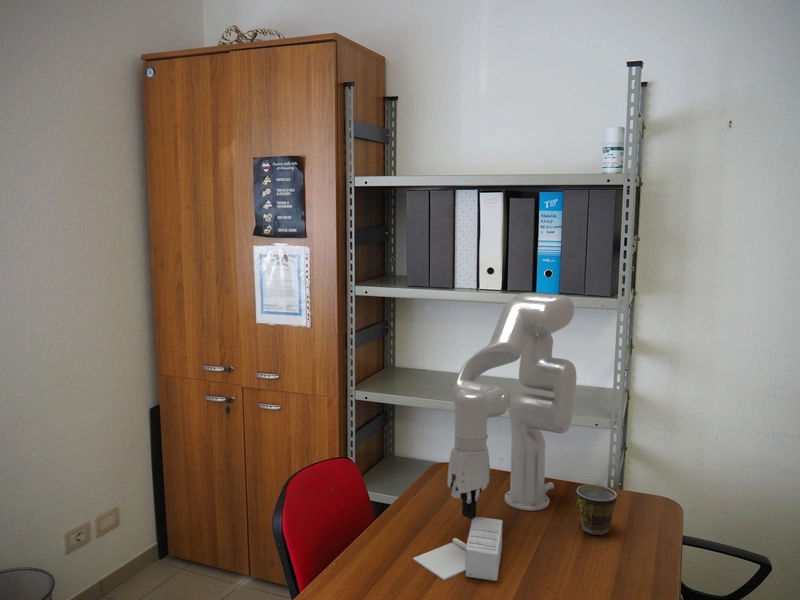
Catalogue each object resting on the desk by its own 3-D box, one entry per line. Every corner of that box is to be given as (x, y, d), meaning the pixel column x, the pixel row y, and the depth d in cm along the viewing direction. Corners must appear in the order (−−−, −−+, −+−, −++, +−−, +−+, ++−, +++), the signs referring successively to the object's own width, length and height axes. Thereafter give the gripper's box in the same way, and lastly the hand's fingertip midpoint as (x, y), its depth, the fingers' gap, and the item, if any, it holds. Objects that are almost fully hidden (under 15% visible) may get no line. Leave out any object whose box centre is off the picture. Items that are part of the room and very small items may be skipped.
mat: (451, 544, 155) (451, 542, 155) (482, 563, 146) (482, 561, 146) (413, 559, 148) (413, 557, 148) (443, 580, 139) (443, 578, 139)
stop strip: (455, 542, 156) (455, 537, 156) (487, 561, 147) (487, 556, 147) (452, 543, 155) (452, 539, 155) (484, 562, 147) (484, 557, 146)
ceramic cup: (591, 516, 170) (592, 481, 169) (623, 531, 162) (625, 494, 161) (559, 529, 163) (561, 493, 161) (591, 545, 155) (593, 507, 153)
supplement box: (502, 545, 150) (497, 582, 139) (471, 540, 152) (464, 577, 141) (503, 519, 148) (498, 554, 137) (472, 515, 150) (464, 549, 138)
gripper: (481, 432, 155) (480, 502, 157) (435, 444, 146) (435, 519, 148) (504, 440, 149) (502, 513, 152) (457, 453, 140) (456, 531, 142)
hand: (468, 516), depth 150 cm, fingers closed
